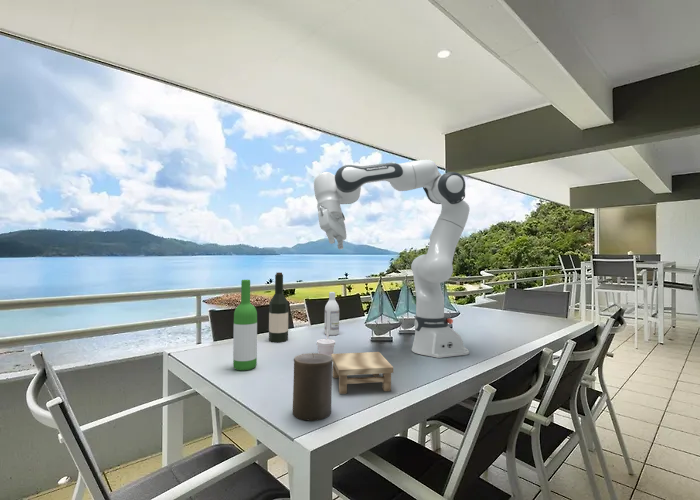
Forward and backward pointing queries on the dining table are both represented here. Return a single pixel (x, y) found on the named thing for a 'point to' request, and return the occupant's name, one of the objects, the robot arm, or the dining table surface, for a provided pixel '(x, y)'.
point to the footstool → (361, 369)
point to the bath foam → (332, 315)
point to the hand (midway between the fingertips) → (336, 246)
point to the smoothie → (326, 345)
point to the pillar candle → (312, 386)
